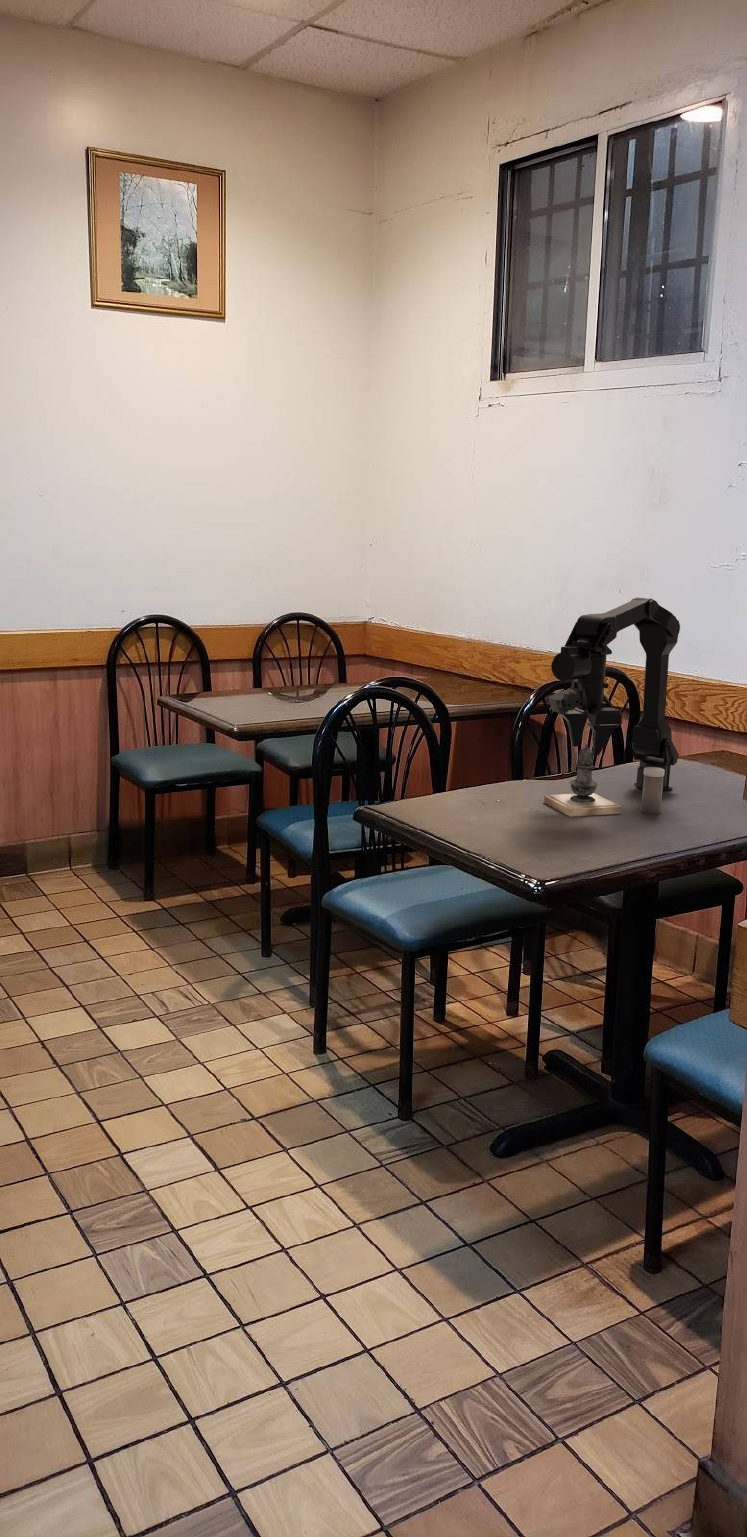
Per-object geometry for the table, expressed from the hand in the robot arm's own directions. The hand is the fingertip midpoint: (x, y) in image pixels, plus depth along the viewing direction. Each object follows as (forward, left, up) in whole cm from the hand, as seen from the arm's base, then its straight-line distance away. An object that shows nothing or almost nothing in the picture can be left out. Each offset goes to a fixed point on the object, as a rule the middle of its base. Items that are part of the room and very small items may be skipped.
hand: (585, 750), depth 248 cm
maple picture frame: (0, 0, -12) cm, 12 cm away
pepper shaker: (-13, +6, -12) cm, 19 cm away
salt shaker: (0, 0, -11) cm, 11 cm away
